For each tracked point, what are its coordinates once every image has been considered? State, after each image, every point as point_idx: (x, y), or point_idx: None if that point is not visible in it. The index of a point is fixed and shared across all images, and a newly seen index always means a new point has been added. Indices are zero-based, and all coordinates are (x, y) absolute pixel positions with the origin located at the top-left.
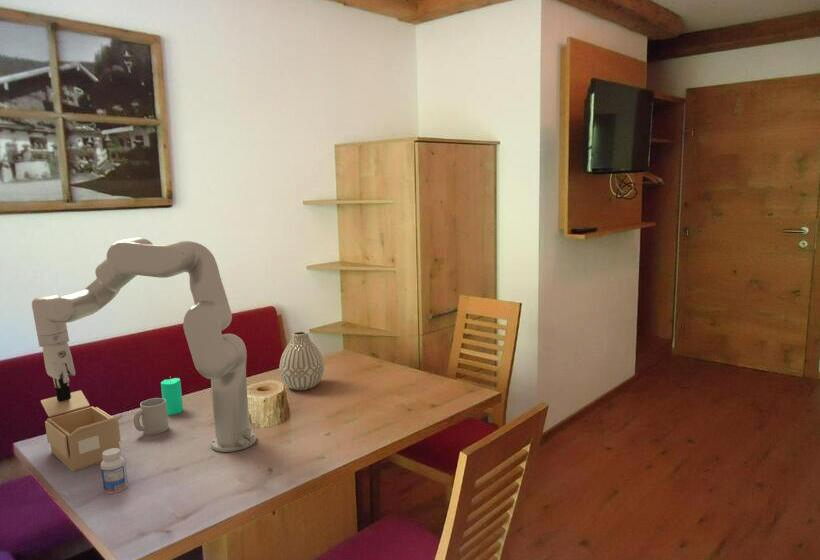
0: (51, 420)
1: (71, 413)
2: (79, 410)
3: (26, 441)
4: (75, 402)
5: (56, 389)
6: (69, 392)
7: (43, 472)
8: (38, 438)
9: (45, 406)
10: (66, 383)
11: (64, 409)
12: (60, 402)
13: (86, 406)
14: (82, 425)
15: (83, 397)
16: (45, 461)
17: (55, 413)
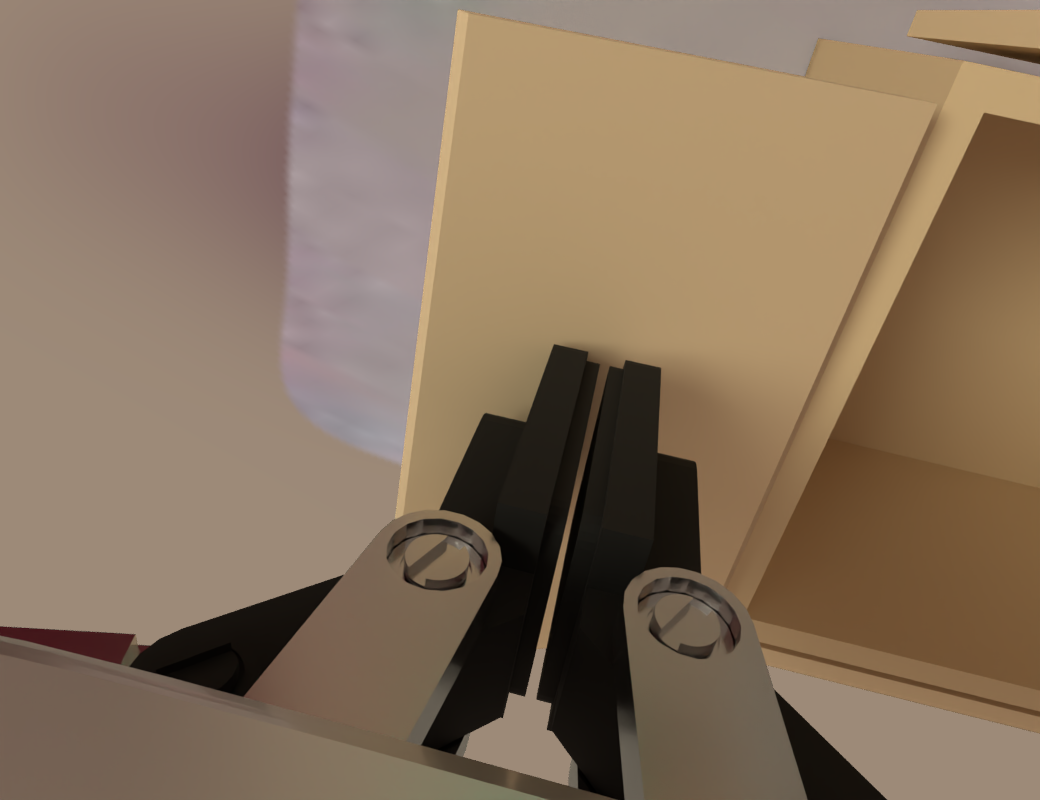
0: (821, 642)
1: (839, 406)
2: (886, 302)
3: (286, 381)
4: (721, 290)
5: (517, 684)
6: (656, 440)
7: None
8: (298, 310)
9: None
10: (842, 790)
11: (739, 470)
12: (581, 480)
13: (893, 160)
14: None
15: (714, 102)
16: None
17: (721, 567)
